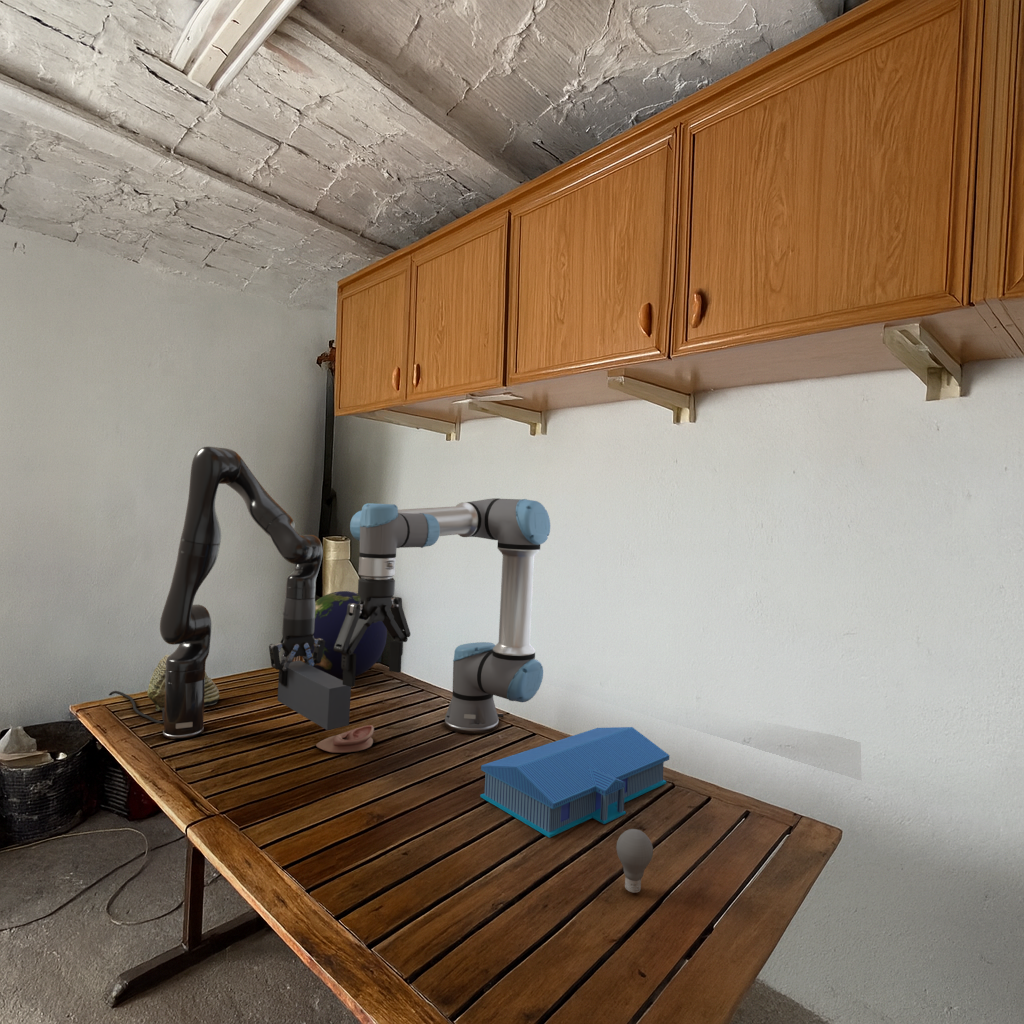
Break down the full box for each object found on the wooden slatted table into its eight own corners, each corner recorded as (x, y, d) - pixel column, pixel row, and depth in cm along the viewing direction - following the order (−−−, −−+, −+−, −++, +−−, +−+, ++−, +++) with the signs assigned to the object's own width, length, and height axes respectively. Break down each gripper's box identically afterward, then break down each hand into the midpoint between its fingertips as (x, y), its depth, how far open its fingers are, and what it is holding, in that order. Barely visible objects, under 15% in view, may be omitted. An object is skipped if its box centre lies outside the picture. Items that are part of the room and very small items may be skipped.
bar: (277, 700, 158) (279, 663, 157) (298, 696, 162) (300, 660, 161) (327, 730, 140) (329, 688, 140) (349, 725, 144) (351, 684, 144)
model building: (561, 845, 119) (564, 792, 119) (478, 796, 137) (480, 750, 137) (678, 787, 145) (680, 744, 145) (596, 753, 163) (598, 714, 163)
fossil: (144, 707, 182) (145, 655, 182) (212, 696, 194) (213, 647, 194) (151, 716, 175) (153, 662, 175) (221, 703, 188) (223, 653, 188)
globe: (276, 681, 212) (279, 592, 211) (333, 662, 239) (336, 583, 239) (350, 695, 201) (354, 601, 200) (401, 673, 228) (404, 590, 228)
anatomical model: (310, 734, 157) (332, 718, 168) (310, 749, 157) (332, 733, 169) (360, 740, 155) (379, 724, 166) (359, 756, 155) (378, 739, 166)
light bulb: (610, 879, 108) (613, 822, 108) (644, 879, 109) (647, 822, 109) (619, 902, 102) (622, 840, 102) (655, 901, 103) (658, 840, 103)
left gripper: (277, 620, 149) (274, 692, 149) (333, 615, 159) (329, 682, 159) (264, 615, 154) (260, 684, 155) (318, 610, 164) (315, 674, 165)
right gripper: (345, 584, 120) (340, 695, 120) (428, 574, 141) (424, 669, 141) (317, 580, 124) (313, 688, 124) (403, 571, 145) (399, 663, 145)
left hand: (295, 682), depth 157 cm, fingers closed on bar, 5 cm apart
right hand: (372, 678), depth 133 cm, fingers open, 13 cm apart
